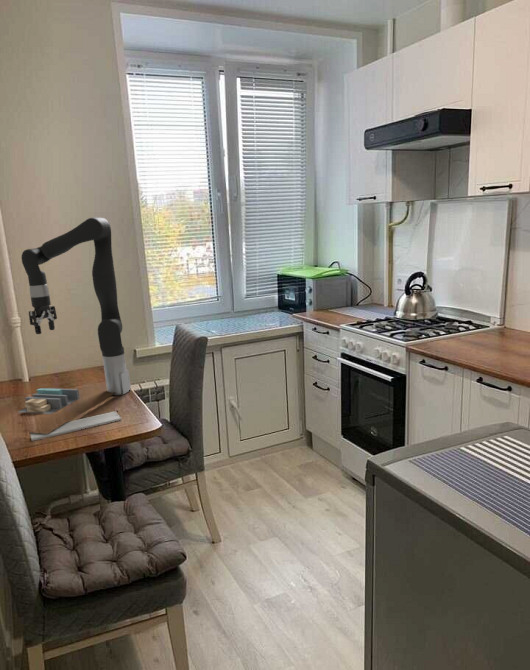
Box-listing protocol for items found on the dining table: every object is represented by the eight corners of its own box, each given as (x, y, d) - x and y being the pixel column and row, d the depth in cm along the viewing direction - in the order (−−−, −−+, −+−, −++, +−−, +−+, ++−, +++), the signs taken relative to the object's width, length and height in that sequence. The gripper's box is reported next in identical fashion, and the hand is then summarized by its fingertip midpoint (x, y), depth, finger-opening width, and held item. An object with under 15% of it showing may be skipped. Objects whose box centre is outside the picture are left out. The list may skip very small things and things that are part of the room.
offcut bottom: (50, 409, 202) (50, 404, 202) (44, 412, 199) (43, 407, 198) (34, 408, 205) (33, 403, 204) (27, 411, 201) (26, 406, 200)
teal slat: (61, 389, 211) (39, 388, 214) (58, 390, 209) (36, 389, 212) (63, 400, 212) (41, 399, 215) (60, 402, 210) (38, 401, 213)
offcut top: (47, 404, 202) (46, 399, 202) (40, 407, 199) (39, 402, 198) (32, 403, 204) (31, 398, 204) (25, 406, 201) (24, 402, 200)
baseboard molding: (29, 431, 186) (32, 443, 175) (27, 424, 185) (30, 435, 175) (114, 412, 200) (121, 421, 190) (113, 405, 200) (120, 414, 189)
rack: (80, 401, 214) (79, 388, 213) (51, 417, 197) (49, 404, 196) (49, 399, 219) (47, 387, 218) (17, 415, 201) (15, 402, 200)
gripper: (35, 297, 211) (41, 335, 215) (58, 292, 224) (63, 328, 228) (20, 298, 213) (26, 335, 217) (43, 293, 227) (49, 328, 230)
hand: (45, 331), depth 222 cm, fingers open, 8 cm apart
